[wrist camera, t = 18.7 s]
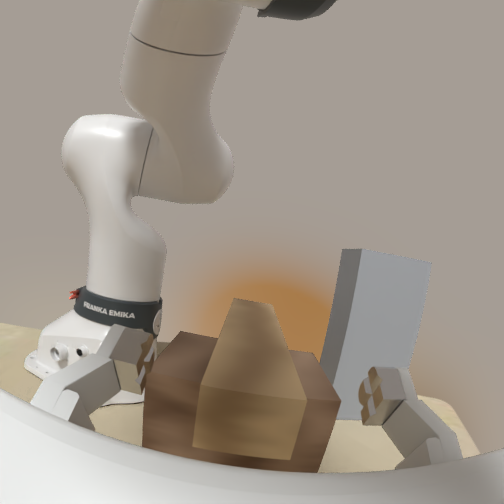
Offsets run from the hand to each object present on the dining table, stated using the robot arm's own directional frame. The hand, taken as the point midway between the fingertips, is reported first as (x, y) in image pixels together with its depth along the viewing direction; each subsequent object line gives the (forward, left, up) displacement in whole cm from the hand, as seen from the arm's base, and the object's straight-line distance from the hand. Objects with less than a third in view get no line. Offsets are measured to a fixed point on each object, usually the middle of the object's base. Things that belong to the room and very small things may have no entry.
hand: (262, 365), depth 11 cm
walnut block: (0, +12, -19) cm, 22 cm away
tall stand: (+20, +37, -19) cm, 46 cm away
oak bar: (0, +11, -4) cm, 12 cm away
